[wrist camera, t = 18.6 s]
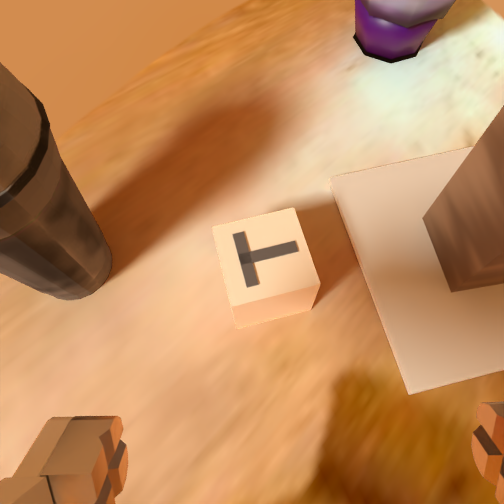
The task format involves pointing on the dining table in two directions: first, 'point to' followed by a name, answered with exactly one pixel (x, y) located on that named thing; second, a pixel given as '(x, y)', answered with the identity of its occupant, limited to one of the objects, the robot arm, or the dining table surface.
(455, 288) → the walnut block
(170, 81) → the dining table surface
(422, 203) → the white square plate
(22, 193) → the beverage cup
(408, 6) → the potion bottle
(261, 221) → the letter cube
